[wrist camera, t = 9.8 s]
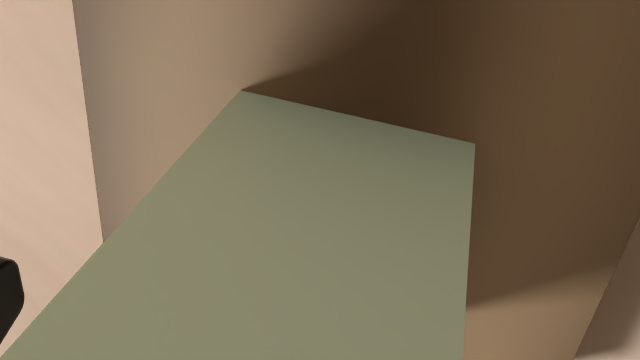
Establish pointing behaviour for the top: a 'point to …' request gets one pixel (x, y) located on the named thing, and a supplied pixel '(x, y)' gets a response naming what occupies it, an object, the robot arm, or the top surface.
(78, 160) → the top surface
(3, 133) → the top surface
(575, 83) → the walnut plinth
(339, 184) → the sage block
